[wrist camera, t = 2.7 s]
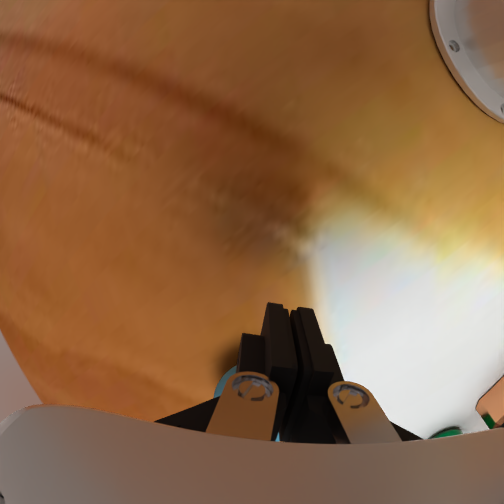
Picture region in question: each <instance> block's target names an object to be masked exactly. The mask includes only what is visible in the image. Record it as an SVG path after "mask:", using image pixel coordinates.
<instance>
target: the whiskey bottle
mask: <svg viewBox="0 0 504 504" xmlns="http://www.w3.org/2000/svg"><path fill="white" fill-rule="evenodd" d="M476 410H477V412H478V413H479V414H480V416H481V417H482V419H483V420H484V421H485V423H486V424H487V426H488V427H489V428H490V429H495V428H504V376H503V377H502V378H501V379H500V380H499V381H498V382H497V383H496V385H495V386H494V387H493V388H492V389H491V390H489V391H488V392H487V393H486V394H485V395H484V396H483V397H482V398H481V399H480V400H479V402H478V405H477V407H476Z"/></svg>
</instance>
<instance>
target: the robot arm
mask: <svg viewBox="0 0 504 504" xmlns="http://www.w3.org/2000/svg"><path fill="white" fill-rule="evenodd" d="M429 4H430V21H431V26H432V31H433V34H434V37H435V40H436V43H437V46H438V48H439V50H440V52H441V55H442V57H443V59H444V61H445V63H446V65H447V66H448V68H449V70H450V71H451V73H452V75H453V77H454V78H455V80H456V81H457V82H458V84H459V85H460V86H461V88H462V89H463V90H464V92H465V93H466V94H467V95H468V96H469V97H470V98H471V100H472V101H473V102H474V103H475V104H476V105H477V106H478V107H479V108H481V109H482V110H483V111H484V112H485V113H486V114H488V115H489V116H491V117H492V118H494V119H496V120H497V121H499V122H501V123H504V0H430V3H429ZM278 433H279V440H280V441H283V442H276V441H275V440H276V438H277V436H278ZM0 504H504V428H495V429H490V430H484V431H478V432H472V433H466V434H460V435H454V436H448V437H440V438H433V439H422V438H420V437H418V436H417V435H415V434H413V433H411V432H409V431H407V430H405V429H403V428H402V427H400V426H398V425H396V424H394V423H392V422H391V421H389V420H388V418H387V416H386V415H385V413H384V412H383V410H382V409H381V407H380V405H379V404H378V402H377V401H376V399H375V398H374V396H373V395H372V393H371V392H370V391H369V390H368V389H366V388H365V387H364V386H362V385H359V384H357V383H354V382H349V381H344V379H343V376H342V373H341V370H340V367H339V365H338V362H337V359H336V356H335V354H334V351H333V348H332V346H331V345H330V344H325V343H324V340H323V337H322V334H321V331H320V328H319V325H318V322H317V319H316V316H315V313H314V310H313V309H310V308H303V307H298V308H297V310H292V311H291V313H290V317H289V312H288V309H283V304H276V303H269V302H268V303H267V306H266V311H265V316H264V321H263V326H262V330H261V335H260V336H259V335H253V334H246V333H242V337H241V343H240V348H239V354H238V360H237V367H236V373H235V374H234V375H232V376H230V377H229V379H228V380H227V381H226V384H225V386H224V389H223V391H222V394H221V396H218V397H216V398H213V399H211V400H209V401H206V402H204V403H201V404H199V405H196V406H194V407H191V408H189V409H186V410H183V411H181V412H178V413H176V414H173V415H170V416H167V417H165V418H162V419H159V420H156V421H154V422H151V421H146V420H142V419H137V418H133V417H129V416H125V415H121V414H117V413H113V412H108V411H103V410H99V409H94V408H87V407H80V406H74V405H59V404H41V405H32V406H28V407H25V408H22V409H20V410H18V411H16V412H14V413H13V414H11V415H9V416H8V417H7V418H6V419H4V420H3V421H2V422H1V423H0Z"/></svg>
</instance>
